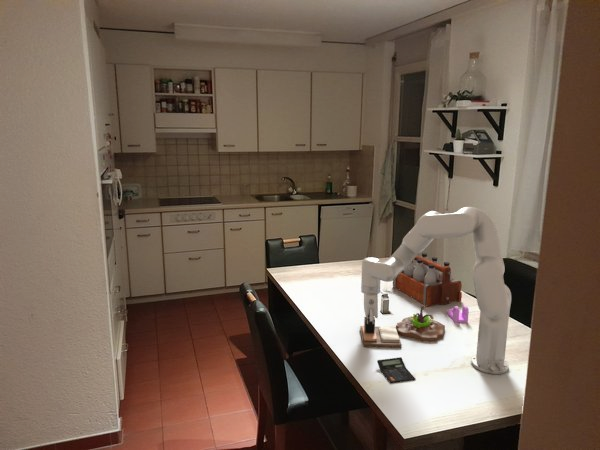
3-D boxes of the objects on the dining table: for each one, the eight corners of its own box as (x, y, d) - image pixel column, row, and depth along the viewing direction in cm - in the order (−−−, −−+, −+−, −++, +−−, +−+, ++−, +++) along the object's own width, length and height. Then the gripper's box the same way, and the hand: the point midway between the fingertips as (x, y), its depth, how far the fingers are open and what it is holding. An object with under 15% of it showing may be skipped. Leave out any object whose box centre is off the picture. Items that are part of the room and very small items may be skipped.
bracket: (467, 322, 204) (468, 308, 203) (455, 323, 204) (456, 308, 203) (457, 311, 217) (458, 297, 215) (445, 311, 217) (446, 297, 215)
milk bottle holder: (421, 281, 259) (423, 248, 255) (464, 303, 227) (467, 265, 223) (389, 286, 251) (391, 252, 247) (429, 309, 219) (432, 270, 215)
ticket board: (401, 347, 181) (401, 341, 180) (363, 346, 182) (363, 340, 181) (395, 330, 197) (395, 324, 196) (360, 329, 198) (360, 323, 197)
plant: (450, 328, 199) (452, 304, 197) (437, 346, 183) (439, 320, 181) (406, 318, 210) (407, 295, 207) (390, 334, 194) (391, 309, 191)
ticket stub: (376, 340, 183) (377, 324, 182) (364, 340, 183) (364, 324, 182) (373, 327, 195) (374, 312, 193) (362, 327, 195) (362, 312, 194)
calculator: (390, 384, 156) (390, 376, 156) (376, 367, 167) (377, 359, 167) (415, 380, 158) (415, 372, 158) (400, 364, 170) (400, 356, 169)
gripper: (382, 295, 177) (380, 339, 181) (377, 281, 193) (376, 322, 197) (362, 295, 177) (361, 339, 181) (359, 281, 193) (358, 322, 197)
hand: (369, 330), depth 189 cm, fingers closed on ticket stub, 3 cm apart
